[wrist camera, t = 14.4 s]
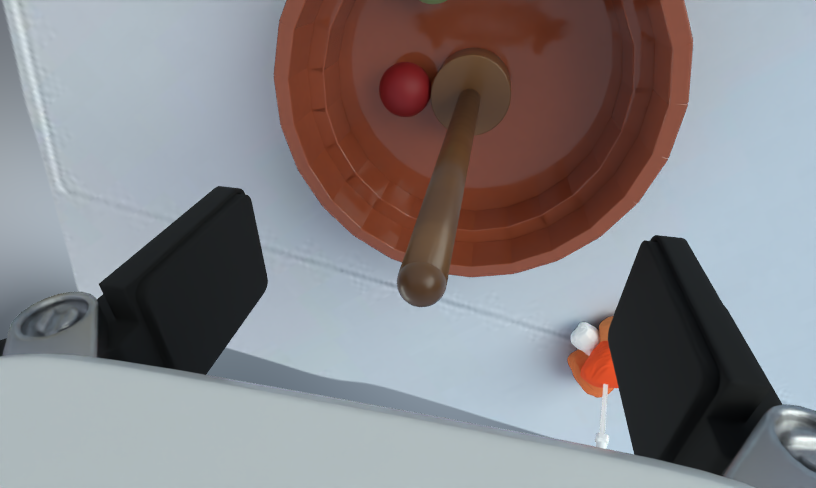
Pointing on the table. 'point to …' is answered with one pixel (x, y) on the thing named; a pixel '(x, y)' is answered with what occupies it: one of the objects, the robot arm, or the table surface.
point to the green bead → (433, 1)
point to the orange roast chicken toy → (594, 367)
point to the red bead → (405, 89)
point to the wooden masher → (452, 165)
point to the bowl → (507, 142)
